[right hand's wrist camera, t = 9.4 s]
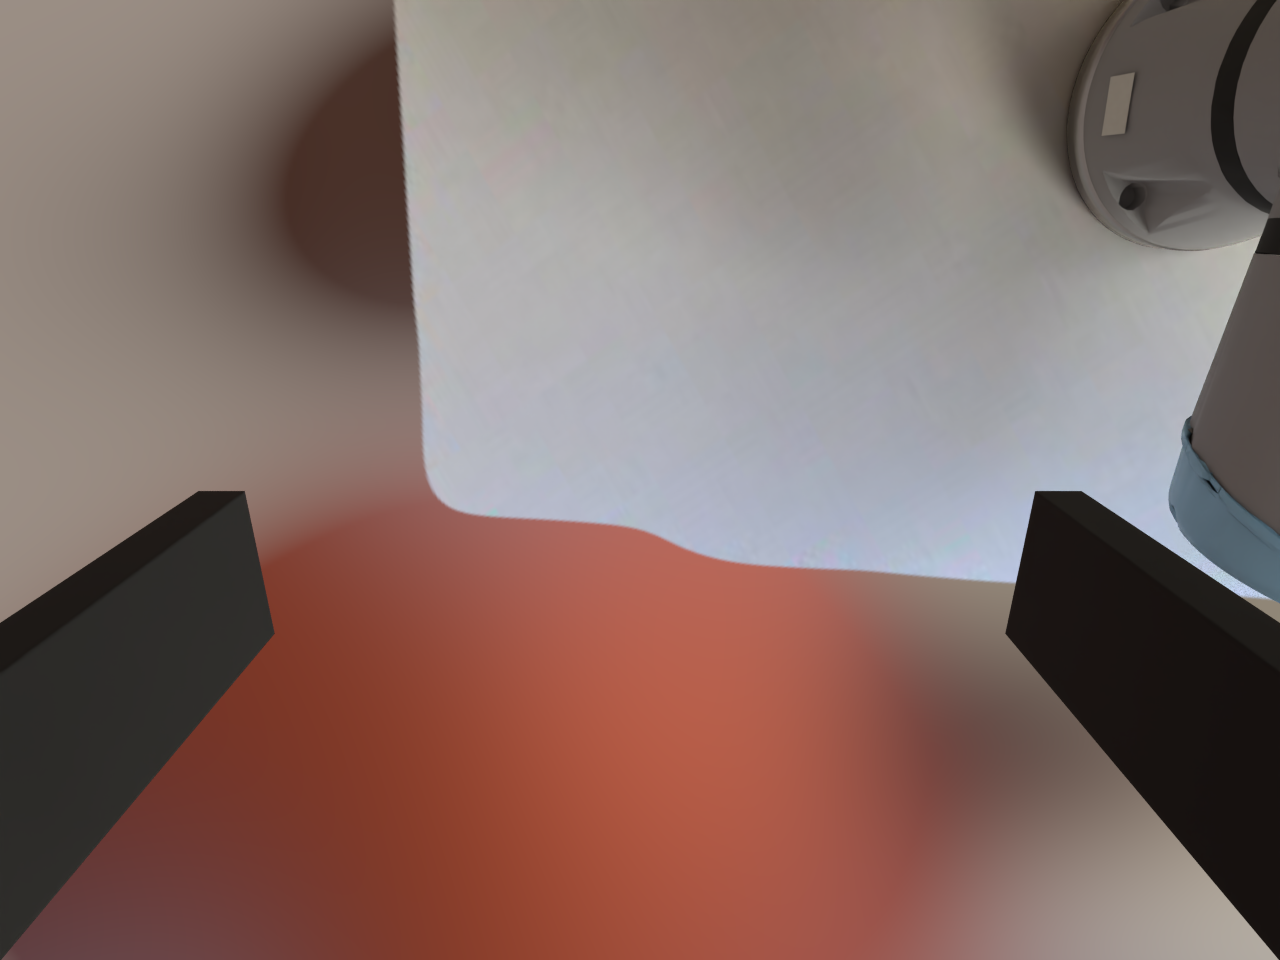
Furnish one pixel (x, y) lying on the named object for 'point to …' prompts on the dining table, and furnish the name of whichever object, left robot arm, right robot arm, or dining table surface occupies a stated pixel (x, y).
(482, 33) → the dining table surface
